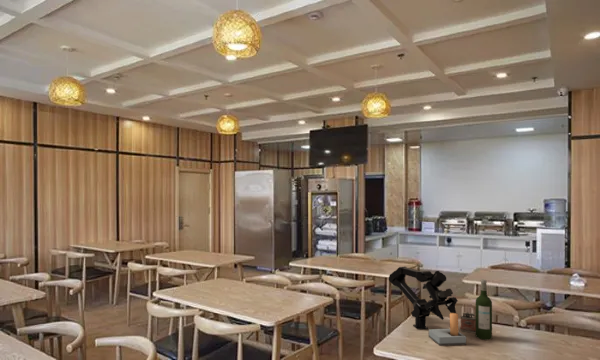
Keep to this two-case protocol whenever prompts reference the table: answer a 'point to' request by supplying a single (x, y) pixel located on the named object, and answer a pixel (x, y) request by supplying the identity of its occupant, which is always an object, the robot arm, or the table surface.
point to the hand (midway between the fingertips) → (449, 318)
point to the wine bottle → (483, 314)
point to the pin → (454, 324)
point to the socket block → (446, 337)
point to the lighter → (468, 322)
